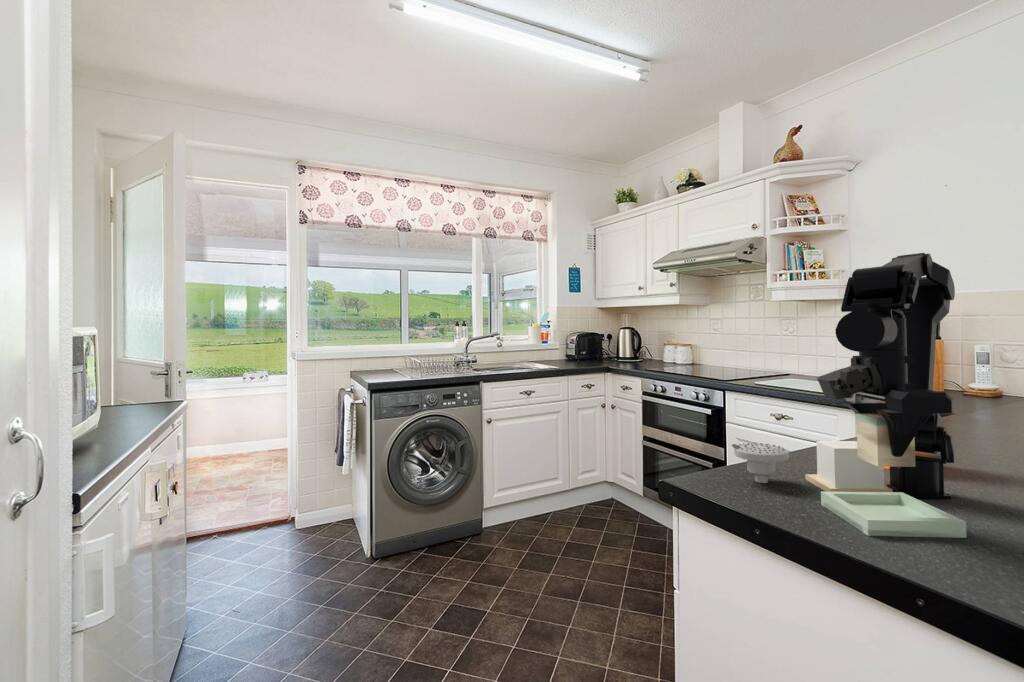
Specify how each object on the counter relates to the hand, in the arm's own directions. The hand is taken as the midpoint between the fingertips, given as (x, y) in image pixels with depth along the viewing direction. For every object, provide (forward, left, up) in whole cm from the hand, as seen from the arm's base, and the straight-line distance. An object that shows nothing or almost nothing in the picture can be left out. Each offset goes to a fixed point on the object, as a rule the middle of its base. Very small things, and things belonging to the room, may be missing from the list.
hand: (885, 452), depth 71 cm
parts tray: (0, 0, -10) cm, 10 cm away
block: (0, 0, -2) cm, 2 cm away
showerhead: (+11, -19, -11) cm, 24 cm away
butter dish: (-3, -16, -10) cm, 19 cm away
